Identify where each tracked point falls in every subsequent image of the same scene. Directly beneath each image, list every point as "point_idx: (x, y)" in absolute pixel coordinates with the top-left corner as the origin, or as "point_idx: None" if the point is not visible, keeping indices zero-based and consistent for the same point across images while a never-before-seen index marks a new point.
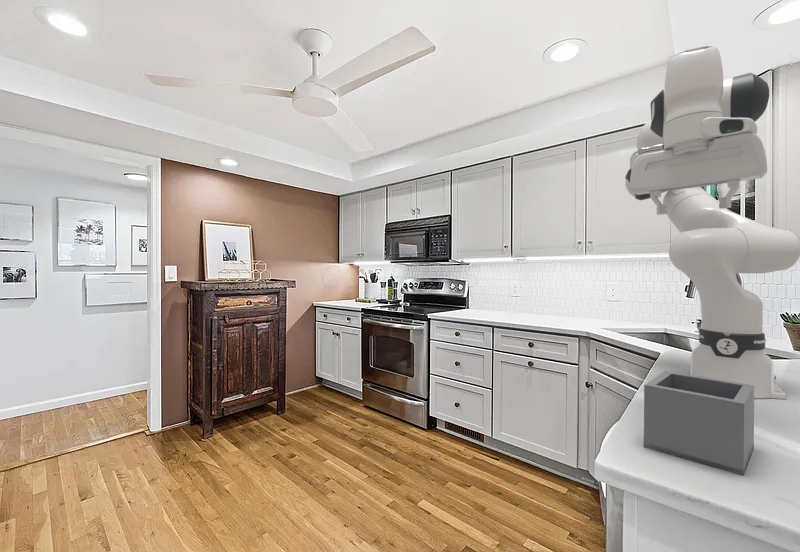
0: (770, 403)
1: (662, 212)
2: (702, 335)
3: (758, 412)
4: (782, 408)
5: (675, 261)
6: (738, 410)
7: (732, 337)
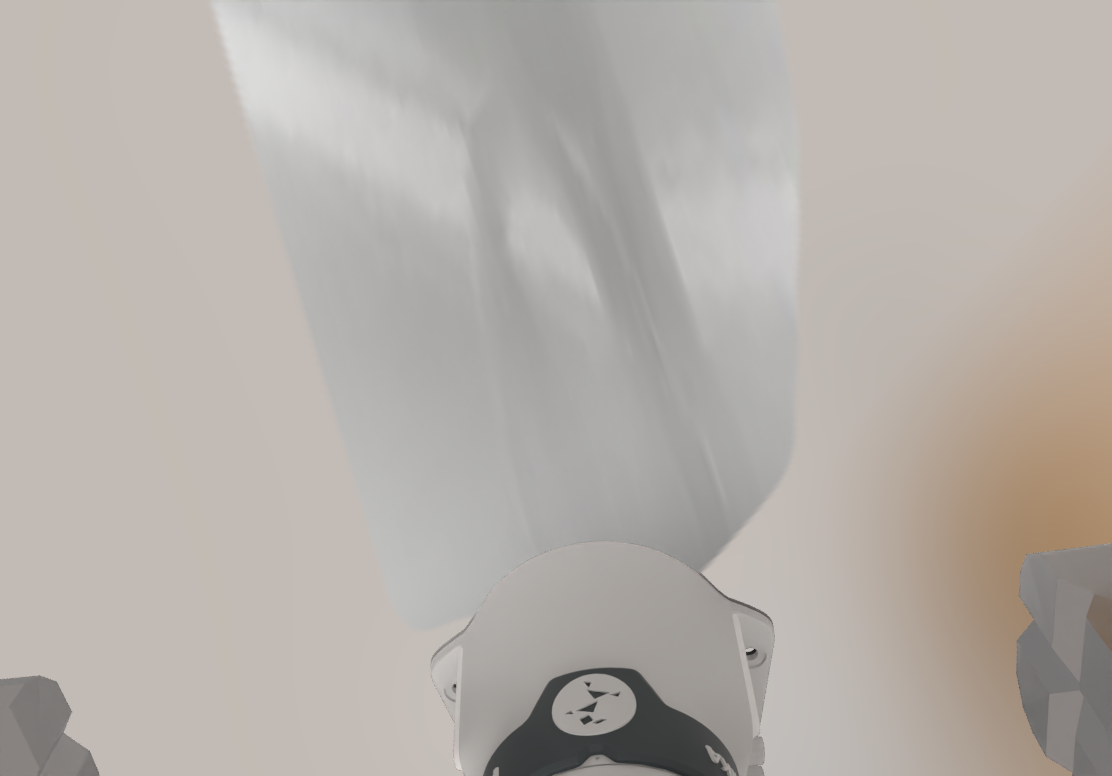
0: (438, 539)
1: (1097, 545)
2: (715, 763)
3: (426, 379)
4: (392, 506)
5: None
6: None
7: (572, 745)
